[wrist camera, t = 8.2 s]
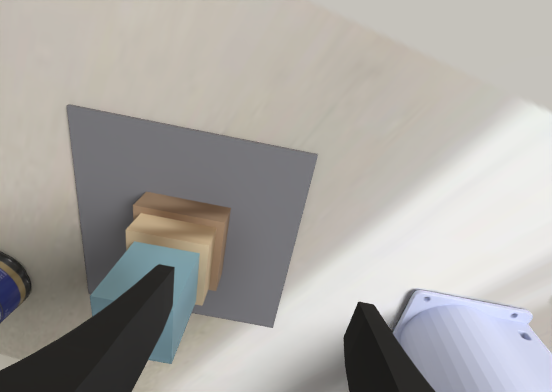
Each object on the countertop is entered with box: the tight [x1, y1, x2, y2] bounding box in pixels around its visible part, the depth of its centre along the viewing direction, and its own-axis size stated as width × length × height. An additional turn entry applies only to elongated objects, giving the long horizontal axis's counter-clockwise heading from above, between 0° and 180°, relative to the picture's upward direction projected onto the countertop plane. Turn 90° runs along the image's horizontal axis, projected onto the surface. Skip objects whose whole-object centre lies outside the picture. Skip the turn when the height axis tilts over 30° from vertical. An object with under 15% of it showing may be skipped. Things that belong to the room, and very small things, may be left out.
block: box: [90, 241, 200, 364], centre depth 18 cm, size 4×4×4 cm
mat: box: [67, 105, 318, 328], centre depth 23 cm, size 16×16×1 cm
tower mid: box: [126, 213, 217, 306], centre depth 21 cm, size 5×5×2 cm
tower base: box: [133, 192, 231, 291], centre depth 22 cm, size 6×6×2 cm
